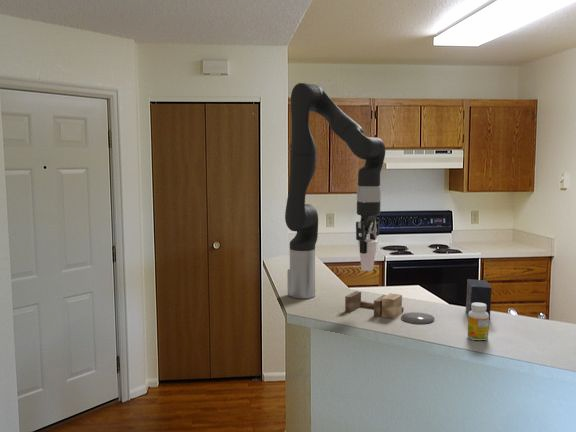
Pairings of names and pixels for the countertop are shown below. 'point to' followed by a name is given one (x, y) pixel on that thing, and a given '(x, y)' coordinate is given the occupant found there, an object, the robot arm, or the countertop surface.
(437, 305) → the countertop surface
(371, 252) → the smoothie
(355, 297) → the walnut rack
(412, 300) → the countertop surface
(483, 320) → the supplement bottle
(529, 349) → the countertop surface
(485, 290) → the small box
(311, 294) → the robot arm
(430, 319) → the coaster
